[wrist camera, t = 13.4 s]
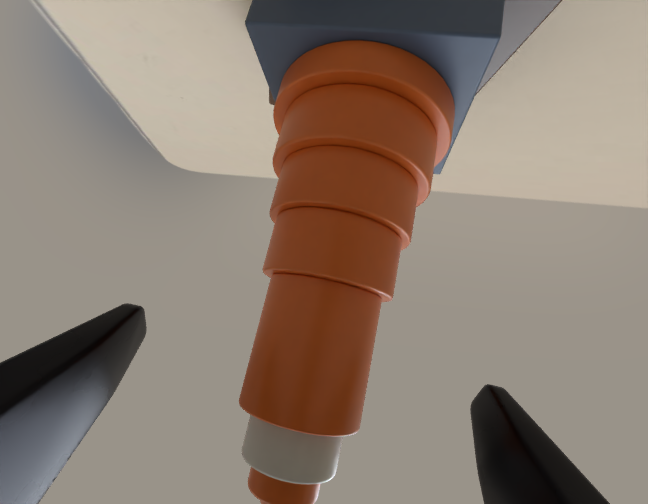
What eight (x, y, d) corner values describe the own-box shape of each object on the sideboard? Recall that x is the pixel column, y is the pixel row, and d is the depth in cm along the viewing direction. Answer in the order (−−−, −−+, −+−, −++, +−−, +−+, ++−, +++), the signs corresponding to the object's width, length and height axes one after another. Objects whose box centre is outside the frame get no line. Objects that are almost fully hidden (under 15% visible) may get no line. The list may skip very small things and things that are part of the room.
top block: (305, 117, 16) (294, 156, 15) (263, -37, 9) (243, 22, 9) (446, 131, 14) (440, 175, 14) (509, -33, 8) (502, 36, 8)
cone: (248, 97, 12) (126, 473, 9) (379, -10, 7) (218, 691, 4) (356, 174, 15) (296, 456, 12) (486, 135, 11) (441, 562, 8)
